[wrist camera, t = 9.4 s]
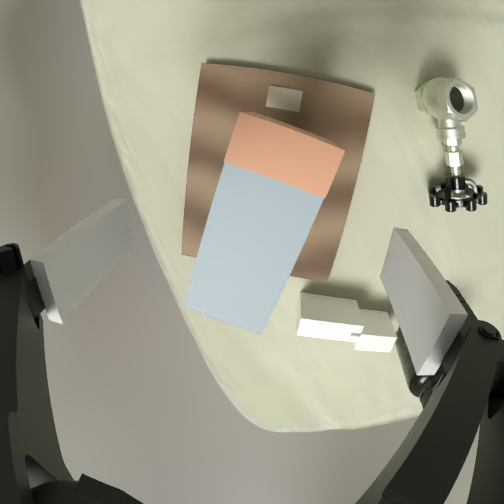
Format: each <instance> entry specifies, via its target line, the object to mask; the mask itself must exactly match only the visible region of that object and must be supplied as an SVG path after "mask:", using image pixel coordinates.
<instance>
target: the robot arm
mask: <svg viewBox="0 0 504 504" xmlns="http://www.w3.org/2000/svg"><path fill="white" fill-rule="evenodd" d="M131 249H132V239H131V231H130V221H129V210H128V200H127V199H114V200H113V201H111V202H110V203H108V204H107V205H105V206H104V207H102V208H100V209H99V210H97V211H96V212H94V213H93V214H91V215H90V216H88V217H87V218H85V219H84V220H83V221H81V222H80V223H78V224H77V225H75V226H74V227H72V228H71V229H70V230H68V231H67V232H65V233H64V234H63V235H61V236H60V237H59V238H57V239H56V240H55V241H53V242H52V243H51V244H49V245H48V246H47V247H45V248H44V249H43V250H41V251H40V252H39V253H37V254H36V255H35V256H34V257H33V258H31V259H30V260H29V261H28V262H27V263H25V264H23V260H22V256H21V253H20V250H19V245H17V244H14V243H11V244H6V245H3V246H1V247H0V504H143V503H141V502H140V501H138V500H136V499H135V498H133V497H132V496H130V495H128V494H127V493H125V492H124V491H122V490H120V489H118V488H115V487H112V486H110V485H107V484H105V483H102V482H100V481H98V480H95V479H93V478H91V477H89V476H86V475H84V474H82V475H81V477H80V479H79V481H74V480H73V478H72V476H71V475H70V473H69V471H68V469H67V468H66V466H65V464H64V461H63V458H62V455H61V451H60V447H59V443H58V439H57V434H56V429H55V424H54V419H53V414H52V408H51V402H50V395H49V389H48V381H47V373H46V363H45V352H44V336H43V320H42V317H41V314H40V313H41V312H42V311H43V309H46V312H47V314H48V317H49V319H50V320H51V321H54V322H57V323H60V324H64V323H65V321H66V320H67V319H68V318H69V317H70V316H71V314H72V313H73V312H74V311H75V310H76V308H77V307H78V306H79V305H80V304H81V303H82V302H83V301H84V299H85V298H86V297H87V296H88V295H89V294H90V293H91V291H93V289H94V288H95V287H96V286H97V285H98V284H99V283H100V282H101V281H102V279H104V277H105V276H106V275H107V274H108V273H109V272H110V271H111V270H112V269H113V268H114V267H115V266H116V265H117V264H118V263H119V261H120V260H121V259H122V258H123V257H124V256H125V255H126V254H127V253H128V252H129V251H130V250H131ZM380 278H381V280H382V283H383V285H384V288H385V290H386V292H387V295H388V297H389V300H390V302H391V305H392V307H393V310H394V312H395V315H396V318H397V320H398V323H399V325H400V328H401V331H402V334H403V336H404V339H405V342H406V345H407V347H408V350H409V353H410V356H411V359H412V362H413V365H414V368H415V371H416V374H417V375H434V374H435V373H436V371H437V370H438V368H439V366H440V365H441V363H442V365H443V367H444V370H445V371H444V373H443V375H442V376H441V378H440V379H439V381H438V382H437V384H436V385H435V387H434V388H433V389H432V392H433V393H432V395H431V397H430V398H429V400H428V402H427V404H426V405H425V407H424V409H423V411H422V412H421V414H420V416H419V417H418V419H417V421H416V422H415V424H414V426H413V427H412V429H411V430H410V432H409V433H408V435H407V437H406V438H405V440H404V441H403V443H402V444H401V446H400V447H399V449H398V450H397V451H396V453H395V454H394V456H393V457H392V459H391V460H390V461H389V462H388V464H387V465H386V467H385V468H384V469H383V471H382V472H381V473H380V474H379V476H378V477H377V478H376V480H375V481H374V482H373V483H372V485H371V486H370V487H369V488H368V490H367V491H366V492H365V493H364V494H363V495H362V497H361V498H360V499H359V500H358V501H357V502H356V503H355V504H444V502H445V500H446V499H447V497H448V495H449V493H450V491H451V489H452V487H453V485H454V483H455V481H456V479H457V477H458V475H459V473H460V471H461V469H462V467H463V464H464V462H465V460H466V457H467V455H468V453H469V450H470V448H471V445H472V443H473V441H474V437H475V435H476V433H477V429H478V427H479V424H480V431H479V440H478V448H477V455H476V461H475V467H474V473H473V478H472V483H471V488H470V493H469V497H468V501H467V504H504V340H502V339H501V335H500V333H499V331H498V330H497V329H496V328H495V327H494V326H493V325H491V324H490V323H488V322H485V321H481V320H478V319H477V318H476V316H475V315H474V313H473V311H472V310H471V308H470V307H469V305H468V304H467V303H466V301H465V299H464V298H463V297H462V295H461V293H460V292H459V291H458V289H457V288H456V287H455V286H454V285H453V284H451V283H450V282H449V281H447V280H445V279H444V278H443V276H442V275H441V273H440V272H439V270H438V269H437V268H436V266H435V265H434V264H433V262H432V261H431V259H430V258H429V257H428V255H427V254H426V253H425V251H424V250H423V249H422V247H421V246H420V245H419V244H418V242H417V241H416V240H415V238H414V237H413V236H412V235H411V233H410V232H409V231H408V230H407V229H401V228H393V232H392V236H391V240H390V243H389V247H388V251H387V255H386V258H385V262H384V265H383V269H382V272H381V275H380Z"/></svg>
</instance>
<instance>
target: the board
mask: <svg viewBox="0 0 504 504" xmlns="http://www.w3.org/2000/svg"><path fill="white" fill-rule="evenodd" d="M374 95H375V94H374V93H371V92H367V91H364V90H360V89H357V88H353V87H349V86H345V85H342V84H338V83H333V82H329V81H325V80H320V79H316V78H311V77H306V76H301V75H296V74H290V73H285V72H279V71H272V70H266V69H258V68H251V67H242V66H233V65H221V64H208V63H202V65H201V71H200V77H199V84H198V91H197V97H196V105H195V112H194V120H193V128H192V136H191V145H190V154H189V163H188V173H187V184H186V196H185V208H184V222H183V237H182V255H186V256H191V257H196V258H197V254H198V251H199V247H200V244H201V240H202V236H203V233H204V229H205V226H206V222H207V219H208V215H209V212H210V209H211V205H212V202H213V199H214V195H215V192H216V189H217V185H218V182H219V179H220V176H221V172H222V169H223V166H224V163H225V162H224V159H225V155H226V152H227V149H228V146H229V143H230V140H231V137H232V134H233V131H234V128H235V125H236V122H237V119H238V116H239V113H240V112H254V113H257V114H261V115H264V116H267V117H270V118H272V119H275V120H278V121H281V122H284V123H287V124H290V125H292V126H295V127H298V128H300V129H303V130H306V131H308V132H311V133H313V134H316V135H318V136H321V137H323V138H326V139H328V140H331V141H332V142H333V143H335V144H336V145H338V146H339V147H341V148H342V149H343V150H345V153H344V155H343V158H342V160H341V162H340V165H339V167H338V170H337V172H336V174H335V177H334V179H333V182H332V184H331V186H330V189H329V191H328V193H327V196H326V198H324V200H323V202H322V204H321V206H320V209H319V211H318V213H317V216H316V218H315V220H314V223H313V225H312V227H311V229H310V232H309V234H308V236H307V238H306V241H305V243H304V245H303V247H302V250H301V252H300V254H299V256H298V258H297V261H296V263H295V265H294V267H293V269H292V271H291V274H290V276H294V277H299V278H305V279H310V280H315V281H321V282H326V283H327V281H328V278H329V275H330V272H331V268H332V265H333V262H334V259H335V255H336V252H337V249H338V245H339V242H340V238H341V235H342V232H343V228H344V224H345V221H346V217H347V214H348V210H349V206H350V202H351V199H352V195H353V191H354V187H355V183H356V179H357V175H358V171H359V166H360V162H361V158H362V154H363V149H364V145H365V140H366V136H367V131H368V126H369V121H370V116H371V111H372V106H373V101H374Z"/></svg>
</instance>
